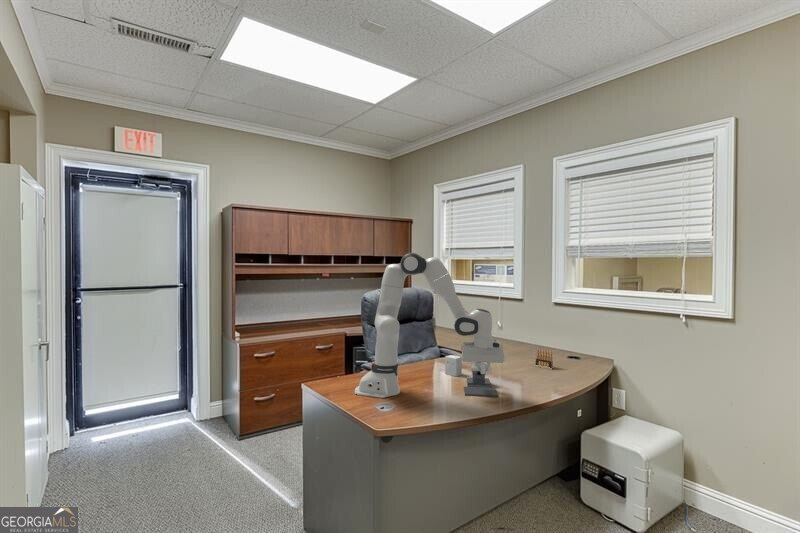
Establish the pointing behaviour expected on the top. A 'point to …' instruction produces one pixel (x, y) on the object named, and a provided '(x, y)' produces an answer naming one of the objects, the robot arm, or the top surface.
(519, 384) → the top surface
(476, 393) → the pad
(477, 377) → the vise
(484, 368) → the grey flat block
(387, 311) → the robot arm
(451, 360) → the small box
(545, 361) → the ammunition clip
